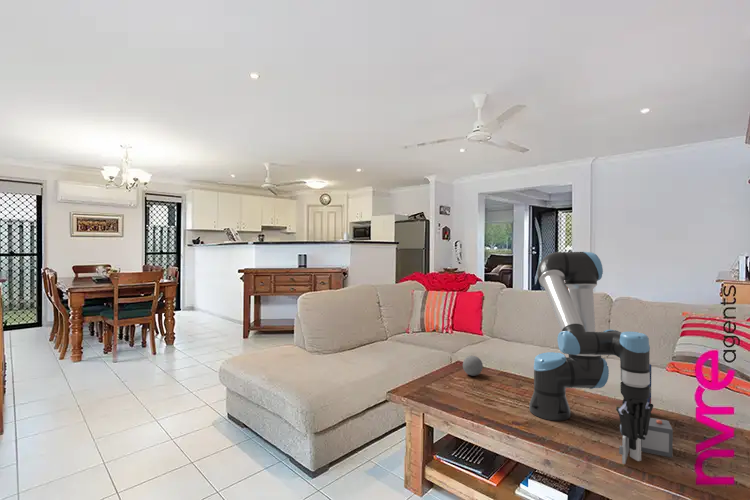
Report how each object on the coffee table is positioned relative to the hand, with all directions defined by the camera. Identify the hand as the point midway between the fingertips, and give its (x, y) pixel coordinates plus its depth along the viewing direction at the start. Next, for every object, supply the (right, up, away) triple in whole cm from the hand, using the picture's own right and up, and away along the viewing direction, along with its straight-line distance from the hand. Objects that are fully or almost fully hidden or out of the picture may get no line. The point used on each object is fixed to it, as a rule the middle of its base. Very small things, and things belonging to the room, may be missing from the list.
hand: (635, 458), depth 123 cm
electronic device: (+24, -1, +33) cm, 41 cm away
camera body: (+10, -1, +9) cm, 14 cm away
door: (-1, -1, +4) cm, 4 cm away
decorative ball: (-31, 0, +81) cm, 86 cm away
